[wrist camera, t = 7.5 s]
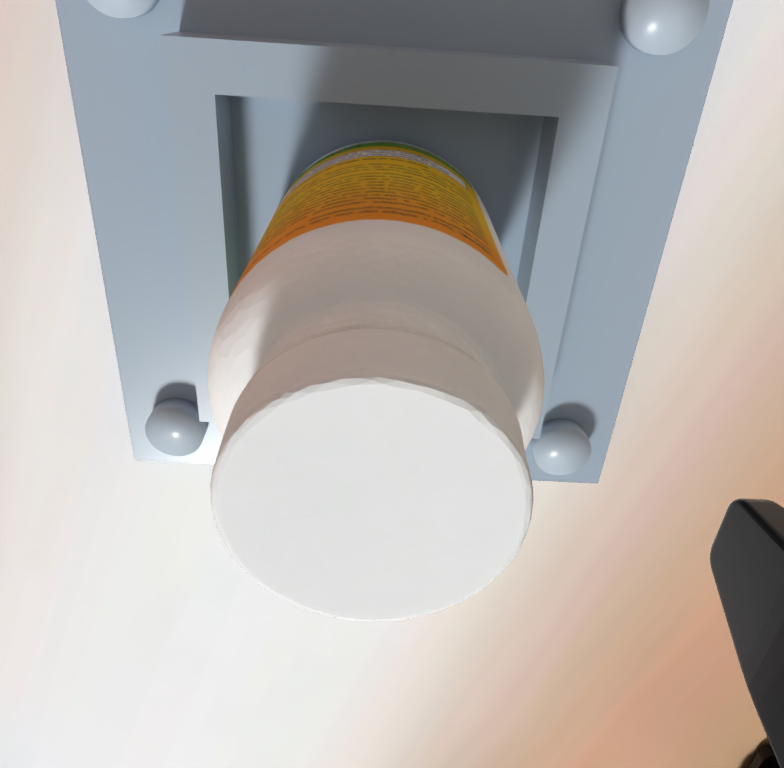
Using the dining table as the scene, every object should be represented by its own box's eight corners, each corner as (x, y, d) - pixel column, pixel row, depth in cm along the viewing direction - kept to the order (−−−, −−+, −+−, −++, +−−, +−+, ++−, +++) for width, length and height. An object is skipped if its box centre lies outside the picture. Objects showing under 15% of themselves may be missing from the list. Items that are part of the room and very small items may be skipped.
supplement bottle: (229, 209, 16) (46, 448, 8) (426, 88, 15) (471, 218, 6) (347, 378, 18) (307, 702, 10) (526, 287, 17) (656, 575, 9)
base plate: (727, -68, 14) (789, -79, 12) (588, 459, 21) (610, 514, 19) (61, -117, 14) (-5, -138, 11) (147, 437, 21) (117, 490, 19)
